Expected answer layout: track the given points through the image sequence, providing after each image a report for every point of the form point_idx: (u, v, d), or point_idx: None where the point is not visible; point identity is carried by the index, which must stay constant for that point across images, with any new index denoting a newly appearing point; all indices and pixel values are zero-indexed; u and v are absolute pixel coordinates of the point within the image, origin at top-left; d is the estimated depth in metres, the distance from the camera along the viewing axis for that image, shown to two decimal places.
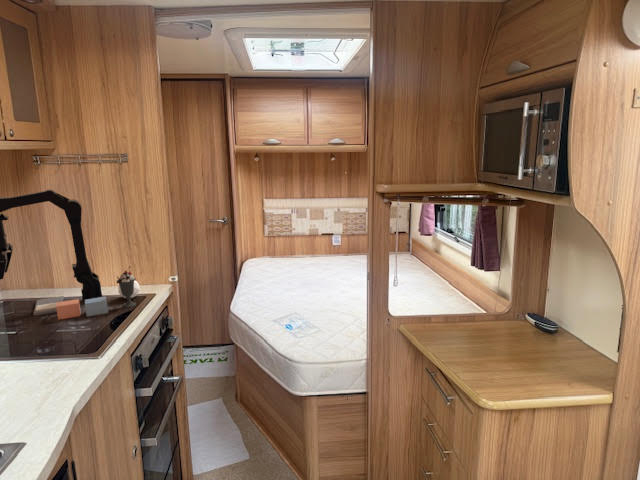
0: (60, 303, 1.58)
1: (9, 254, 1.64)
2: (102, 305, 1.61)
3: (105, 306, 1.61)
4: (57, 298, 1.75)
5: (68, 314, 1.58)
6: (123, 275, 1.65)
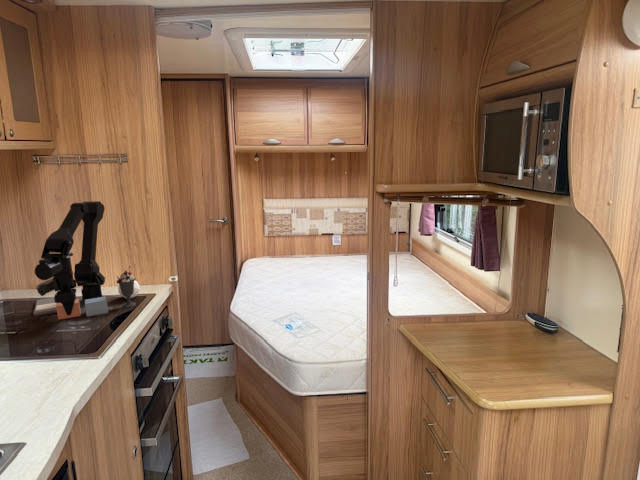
0: (60, 303, 1.58)
1: None
2: (102, 305, 1.61)
3: (105, 306, 1.61)
4: None
5: None
6: (123, 275, 1.65)
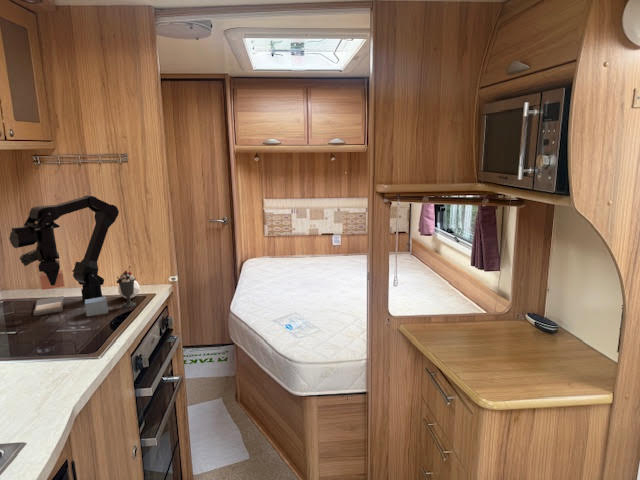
0: (43, 273, 1.59)
1: None
2: (102, 305, 1.60)
3: (105, 306, 1.61)
4: (57, 298, 1.75)
5: None
6: (123, 275, 1.65)
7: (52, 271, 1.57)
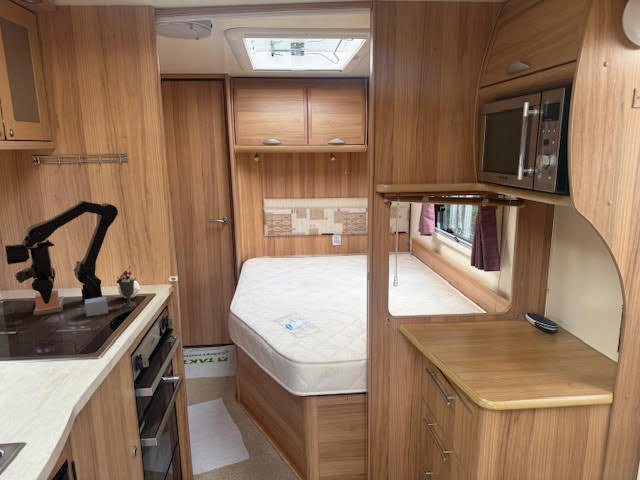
0: (39, 294, 1.64)
1: (52, 278, 1.70)
2: (102, 305, 1.60)
3: (105, 306, 1.61)
4: None
5: (46, 304, 1.64)
6: (123, 275, 1.65)
7: (46, 290, 1.60)
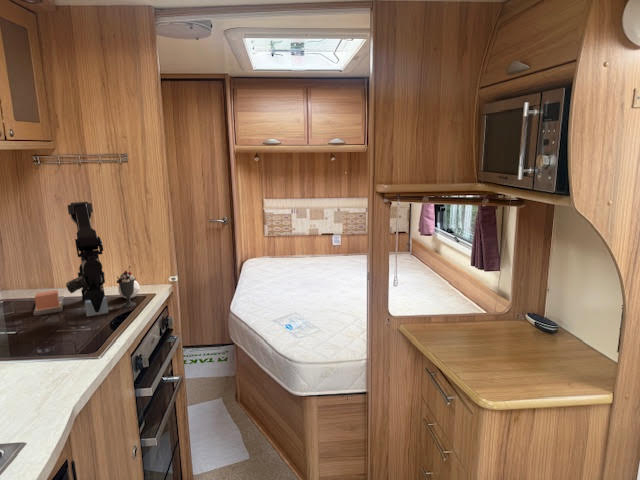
0: (39, 294, 1.64)
1: None
2: (102, 305, 1.60)
3: (105, 306, 1.61)
4: None
5: (46, 304, 1.64)
6: (123, 275, 1.65)
7: (97, 298, 1.58)
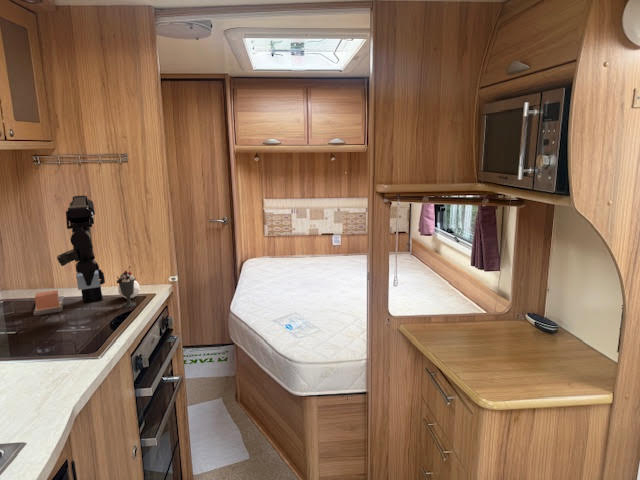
0: (39, 294, 1.64)
1: None
2: (94, 278, 1.59)
3: (97, 279, 1.59)
4: None
5: (46, 304, 1.64)
6: (123, 275, 1.65)
7: (88, 271, 1.56)
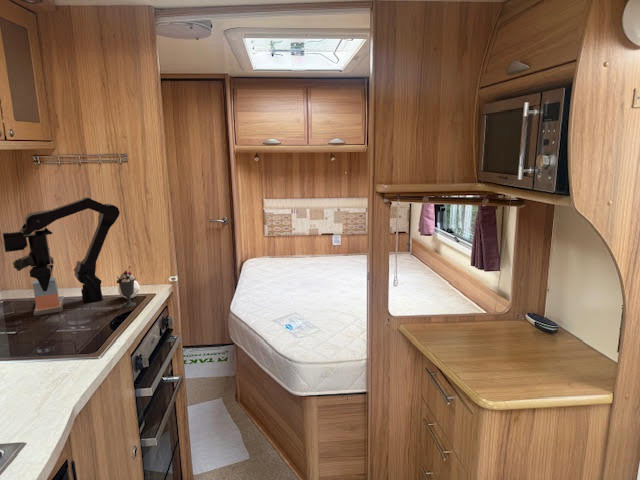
0: None
1: (50, 267, 1.68)
2: (50, 285, 1.63)
3: (53, 287, 1.64)
4: None
5: (46, 304, 1.64)
6: (123, 275, 1.65)
7: (44, 277, 1.59)
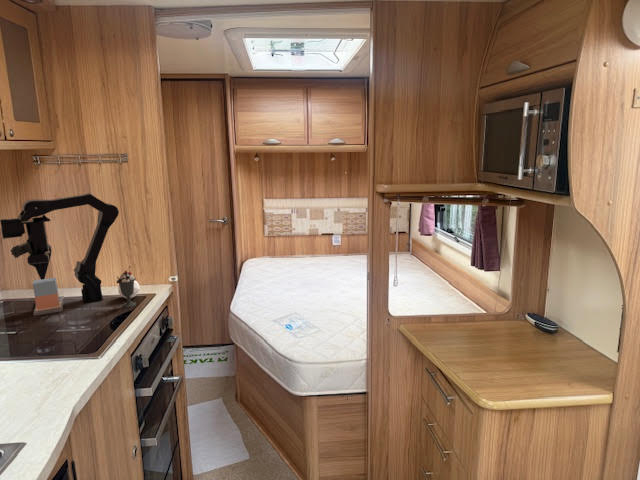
0: None
1: (48, 255, 1.67)
2: (50, 285, 1.63)
3: (53, 287, 1.64)
4: None
5: (46, 304, 1.64)
6: (123, 275, 1.65)
7: (41, 265, 1.57)
